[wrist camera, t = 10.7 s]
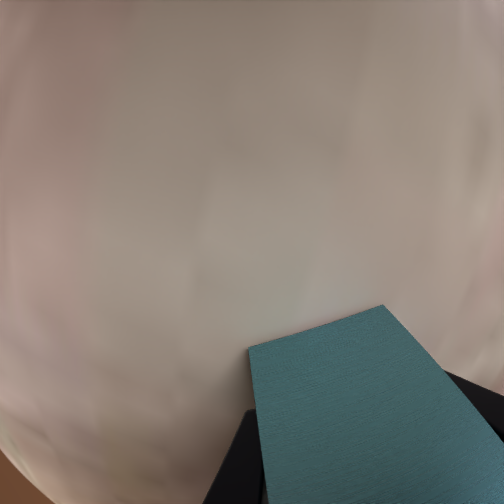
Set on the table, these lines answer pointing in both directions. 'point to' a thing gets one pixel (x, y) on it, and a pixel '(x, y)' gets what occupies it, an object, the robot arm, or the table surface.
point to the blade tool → (368, 420)
